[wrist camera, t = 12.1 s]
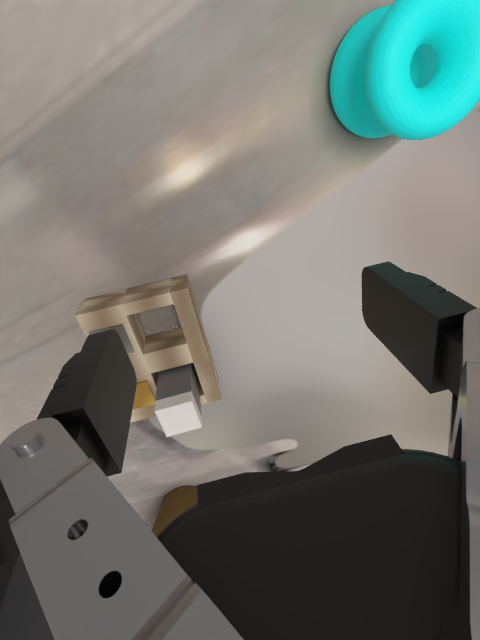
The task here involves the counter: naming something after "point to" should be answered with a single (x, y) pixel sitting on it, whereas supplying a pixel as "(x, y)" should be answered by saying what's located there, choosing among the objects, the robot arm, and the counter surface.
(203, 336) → the socket block
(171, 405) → the plug
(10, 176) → the counter surface
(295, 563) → the robot arm
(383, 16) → the donuts
